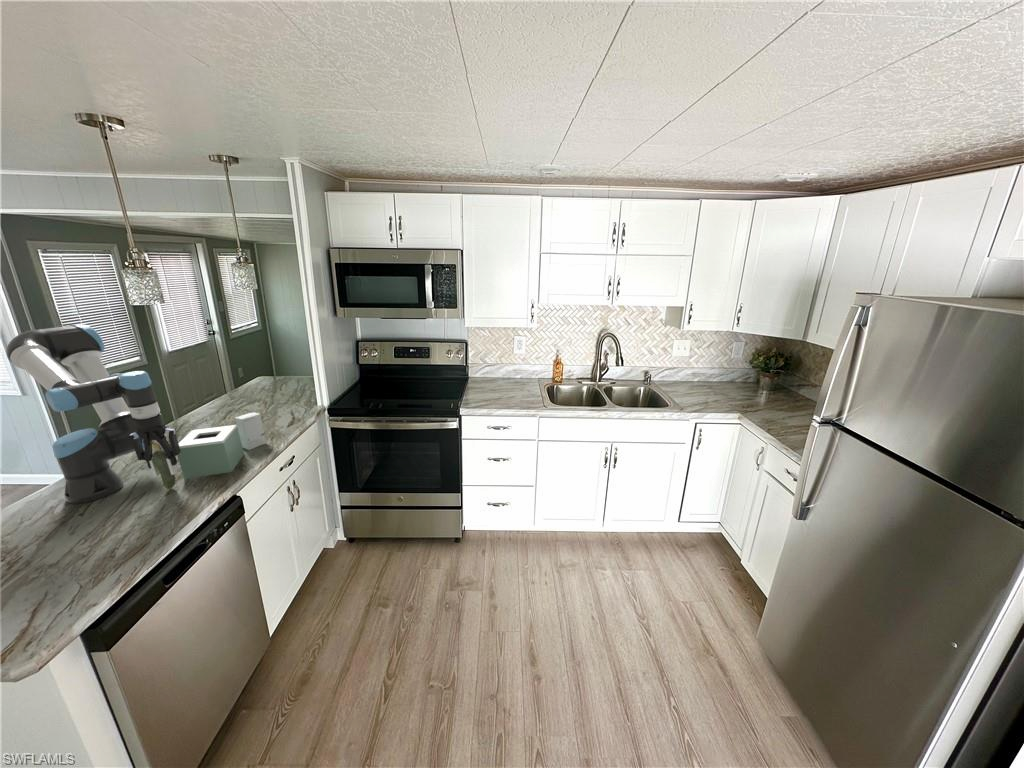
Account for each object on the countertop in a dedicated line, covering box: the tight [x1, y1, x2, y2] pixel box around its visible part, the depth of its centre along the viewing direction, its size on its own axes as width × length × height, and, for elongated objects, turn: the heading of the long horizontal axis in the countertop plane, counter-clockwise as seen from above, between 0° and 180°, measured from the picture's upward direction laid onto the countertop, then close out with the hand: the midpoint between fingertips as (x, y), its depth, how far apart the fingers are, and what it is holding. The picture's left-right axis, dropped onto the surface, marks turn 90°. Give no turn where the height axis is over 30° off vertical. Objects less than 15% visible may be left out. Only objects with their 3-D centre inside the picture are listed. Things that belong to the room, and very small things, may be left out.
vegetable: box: [150, 441, 176, 491], centre depth 146 cm, size 4×4×20 cm
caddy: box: [176, 424, 245, 480], centre depth 164 cm, size 16×16×14 cm
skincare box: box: [234, 411, 267, 451], centre depth 181 cm, size 8×6×15 cm
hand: (166, 473), depth 147 cm, fingers closed on vegetable, 4 cm apart
